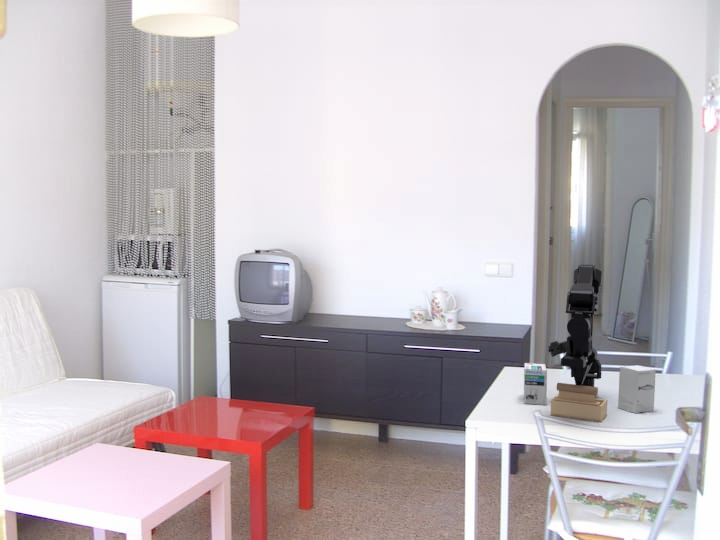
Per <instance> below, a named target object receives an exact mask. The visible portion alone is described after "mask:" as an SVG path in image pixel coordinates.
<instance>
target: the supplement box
mask: <svg viewBox="0 0 720 540" xmlns="http://www.w3.org/2000/svg"><path fill="white" fill-rule="evenodd" d="M656 371H657V369H656V368H652V367H647V366H643V365H637V364H636V365H625V366H623V365H622V366H620V367H619V376H618V378H619V379H618V382H619V383H618V397H617V398H618V400H617V401H618V402H617V408H619V409H621V410H624V411H627V412H630V413H633V414H638V413H647V412H654V411H655V395H656V394H655V393H656Z"/></svg>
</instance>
